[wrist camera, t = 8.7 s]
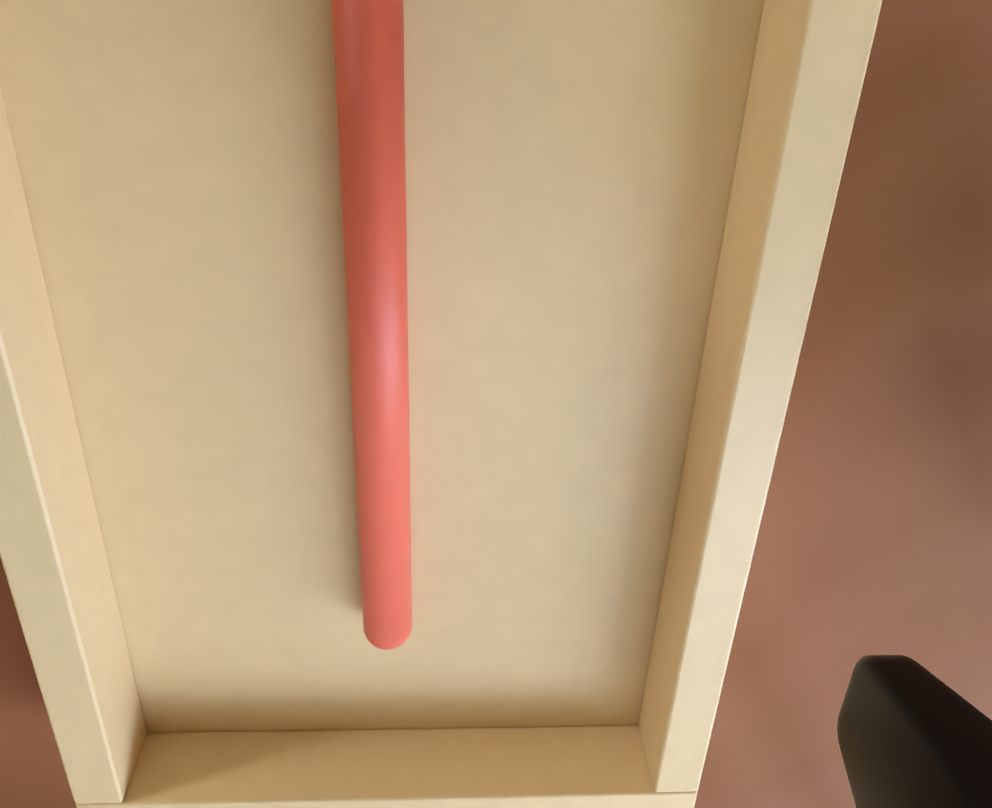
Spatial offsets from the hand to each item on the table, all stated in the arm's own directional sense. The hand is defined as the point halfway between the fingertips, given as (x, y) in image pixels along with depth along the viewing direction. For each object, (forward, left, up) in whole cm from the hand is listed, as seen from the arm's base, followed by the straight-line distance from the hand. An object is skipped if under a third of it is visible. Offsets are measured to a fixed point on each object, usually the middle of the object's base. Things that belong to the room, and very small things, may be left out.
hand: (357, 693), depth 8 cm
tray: (+1, 0, -6) cm, 7 cm away
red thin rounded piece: (+1, 0, -6) cm, 6 cm away
